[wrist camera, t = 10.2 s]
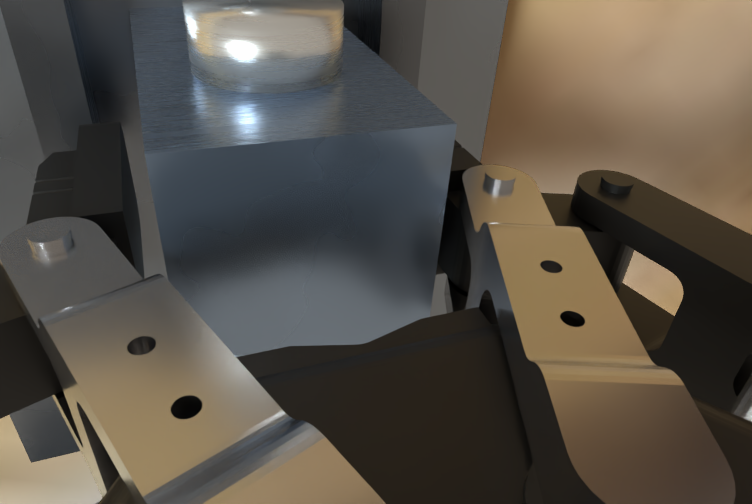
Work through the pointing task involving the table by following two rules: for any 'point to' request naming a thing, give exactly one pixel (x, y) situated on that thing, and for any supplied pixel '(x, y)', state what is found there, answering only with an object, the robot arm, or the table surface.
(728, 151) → the table surface
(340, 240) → the block with round knob
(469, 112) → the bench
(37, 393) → the robot arm
